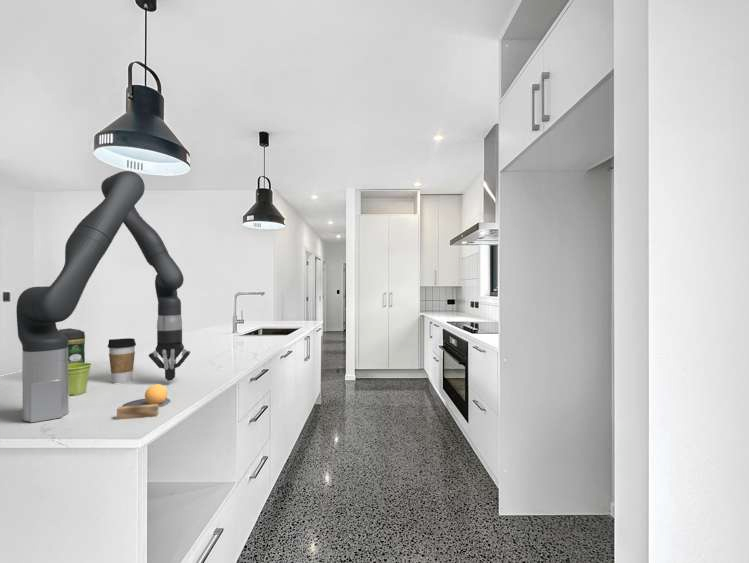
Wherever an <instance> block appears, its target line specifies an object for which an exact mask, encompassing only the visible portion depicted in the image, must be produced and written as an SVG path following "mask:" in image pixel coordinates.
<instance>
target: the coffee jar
mask: <svg viewBox="0 0 749 563" xmlns="http://www.w3.org/2000/svg"><path fill="white" fill-rule="evenodd" d="M58 331H59V332H60V333H62V334H63V335H65V336H66V337H67V338H68V364H74V363H86V359H85V357H86V356H85V354H86V352H85V342H86V334H85V331H84V330H81V329H77V328H76V329H75V328H63V329H58Z"/></svg>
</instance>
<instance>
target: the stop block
mask: <svg viewBox="0 0 749 563" xmlns="http://www.w3.org/2000/svg"><path fill="white" fill-rule="evenodd" d="M159 409H160V407H159V404H150V405H136V406H123V407H122V406H119V407H117V408H116V420H126V419H128V420H129V419H139V418H153V417H157V416H159Z"/></svg>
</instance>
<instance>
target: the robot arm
mask: <svg viewBox="0 0 749 563" xmlns="http://www.w3.org/2000/svg"><path fill="white" fill-rule="evenodd" d="M100 188H101V192H102V195H103V197H104V199H103V201H102V202H100V203H99V205H97V206H96V207H95V208H93V209H92V210H91V211H90V212H89V213H88V214H87V215H85V217H84V218H83V219H82V220H81V221H80V222H79V223H78V224H77V225H76V227H75V228H74V230H73V231H72V232H71V234H70V235H69V237H68V238H67V241H66V242H65V247H64V248H65V250H64V266H63V267H62V270H61V271H60V273H59V274H58V276H57V277H56V278H55V280H54V281H53V282H52V283H51V284H50V286H32V287H28V288H26V289H25V290H24V291H22V292H21V293H20V294H19V296H18V298H17V301H16V313H15V314H16V327H17V336H18V337H17V338H18V340H19V342H20V343H21V349H22V355H21V356H22V357H21V358H22V361H21V362H22V366H21V367H22V368H21V369H22V373H21V374H22V376H21V377H22V382H21V383H22V420H23V421H24V422H30V423H36V422H37V423H38V422H43V421H47V420H54V419H59V418H60V419H61V418H63V416H66V415H68V414H69V410H70V409H69V396H68V338H67V337H66V336H65V335H63V334H62V333H60V332H59V329H58V328H57V323H61V322H64V321H65V320H67V319H68V318H69V317H71V315H73V314H74V312H75V310H76V309H77V306H78V304H79V302H80V300H81V298H82V295H83V293H84V291H85V289H86V286H87V285H88V282H89V280H90V278H91V277H92V275H93V273H94V272H95V270H96V268H97V267H98V264H99V263H100V261H101V259H102V258H103V257H104V256H105V254H106V253H107V251H108V249H109V248H110V246H111V244H112V243H113V240H114V238H115V237H116V235H117V233H118V232H119V230H120V228H121V227H122V225H123V224H124V225H125V227H126V229H128V231H129V232H130V234H131V235H132V237H133V238H134V241H135V242H136V243H137V246H138V248H139V249H140V251H141V254H142V255H143V257H144V259H145V260H146V262H147V263H148V264H149V266H151V267H152V268H154V270H155V272H156V275H155V279H154V286H155V287H154V288H155V294H156V298H157V320H156V331H157V332H156V339H157V342H156V347H155V349H154V351H152V352H150V353H149V354H148V357H149V358H150V359H151V360H152V362H153V363H154V364H155V365H156V366H157V367H158V369H164V379H165V380H166V381H167V382H168V381H169V382H170V381H174V379H175V378H176V369H177V368H180V366H181V365H182V364H183V363H184V362H185V360H186V359H187V358H188V357H189V356H190V354H191V351H190V350H187V349H185V347H184V346H185V345H184V344H183V319H182V301H181V299H180V298H179V297H178V289H180V288H181V287H182V286H183V285H184V282H185V280H184V275H183V272H182V271H181V268H180V267H179V266H178V265H177V263H176V261H175V260H174V259H173V257H171V255H170V254H169V251H168V249H167V246H166V245H165V243H164V240H162V238H161V236H160V235H159V234H158V232H157V231H156V230H155V229H154V228H153V227H152V226H151V225H150V224H149V223H148V222H147V221H145V219H144V218H143V217H142V216H141V215H140V212H138V211H137V208H136V204H137V203H138V202H139V201H140V200H141V199H142V197H143V195H144V193H145V183H144V179H143V178H142V176H140V175H139V174H138V173H136V172H135V171H131V170H124V171H120V172H117V173H115V174H113V175H110V176H108V177H106V178H105V179H103V181H102V183H101V186H100ZM180 354H181V358H180V359H179V360H178V361H177V358H178V357H179V356H180ZM159 356H160V358H161V359H162V360H161V359H160V358H159Z"/></svg>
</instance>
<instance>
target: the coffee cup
mask: <svg viewBox="0 0 749 563" xmlns="http://www.w3.org/2000/svg"><path fill="white" fill-rule="evenodd" d="M136 346H137V344H136V340H135V338H131V337H130V338H128V337H126V338H115V339H114V338H113V339H110V338H109V339H108V344H107V348H108V349H109V350H108V352H109V353H108V356H109V357H108V358H109V365H110V374H111V383H112V384H113V383H122V384H126V383H125V382H128V383H130V382H129V381H131V382H132V381H133V375H134V374H133V372H134V365H135V355H136V354H135V353H136V352H135V349H136V348H135V347H136Z"/></svg>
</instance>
